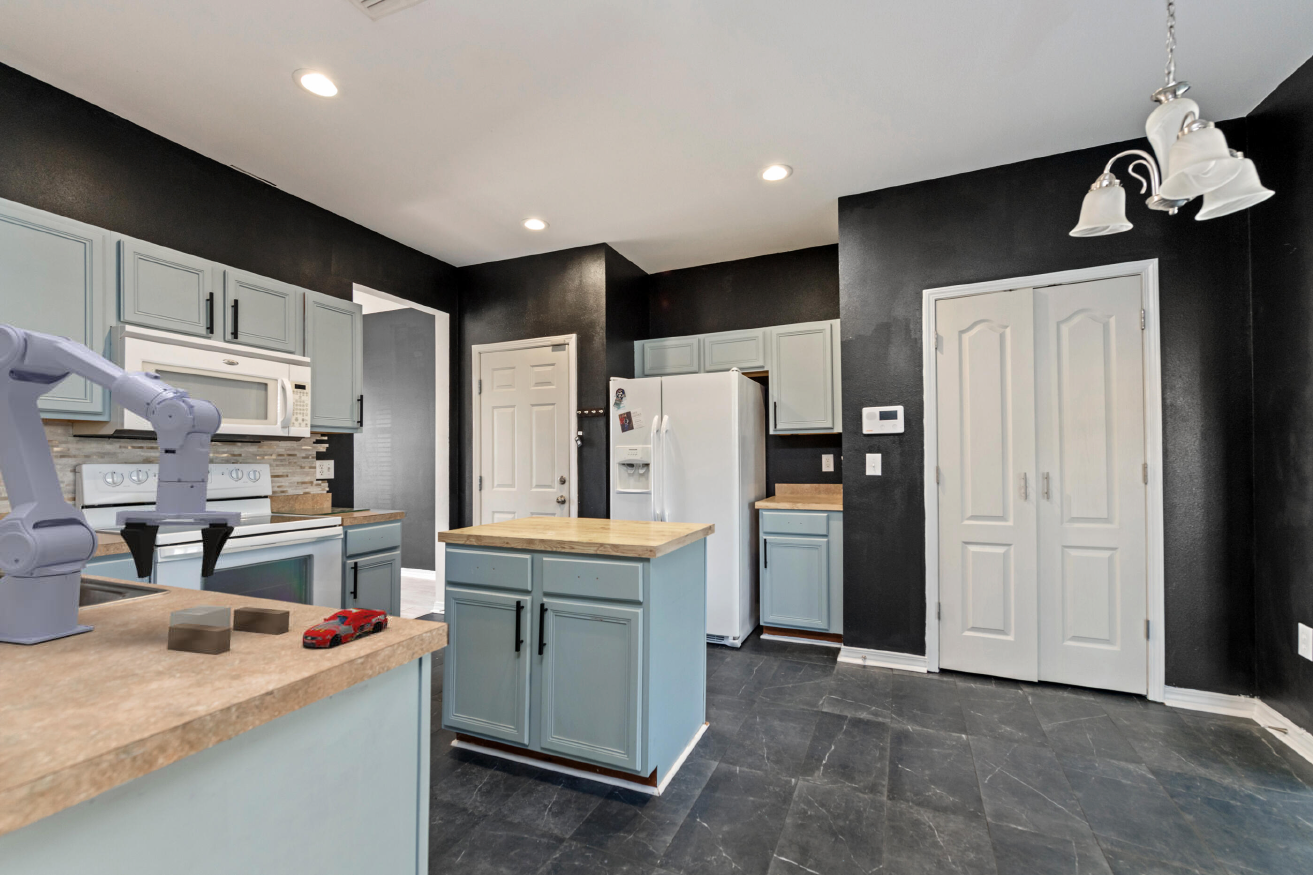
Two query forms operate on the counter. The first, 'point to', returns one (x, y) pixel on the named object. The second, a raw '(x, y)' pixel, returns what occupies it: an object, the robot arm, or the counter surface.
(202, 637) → the parallel wooden rails
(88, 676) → the counter surface
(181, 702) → the counter surface
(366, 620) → the race car
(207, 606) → the off-white block
